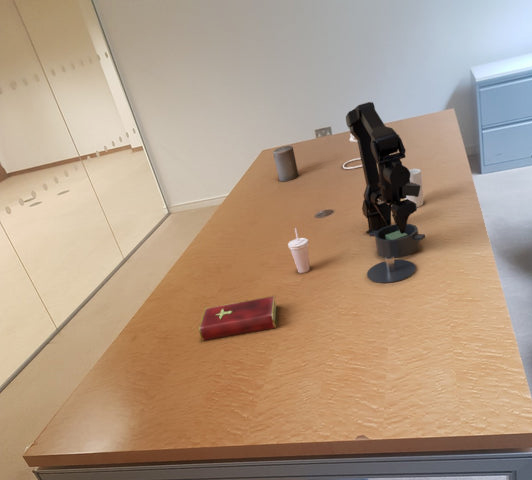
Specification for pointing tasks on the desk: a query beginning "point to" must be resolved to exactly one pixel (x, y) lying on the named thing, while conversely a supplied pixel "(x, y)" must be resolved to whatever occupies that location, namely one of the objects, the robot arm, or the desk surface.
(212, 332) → the hardcover book
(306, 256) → the smoothie
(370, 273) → the lid
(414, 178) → the mug
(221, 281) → the desk surface
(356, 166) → the earphone
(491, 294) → the desk surface
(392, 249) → the pot
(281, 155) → the pillar candle
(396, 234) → the block
